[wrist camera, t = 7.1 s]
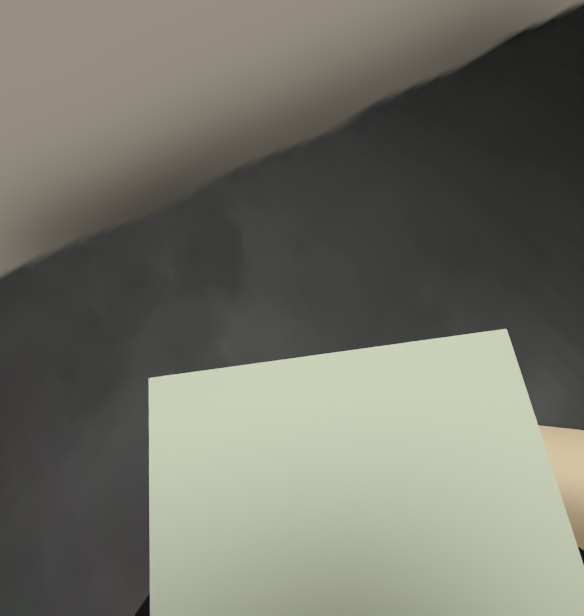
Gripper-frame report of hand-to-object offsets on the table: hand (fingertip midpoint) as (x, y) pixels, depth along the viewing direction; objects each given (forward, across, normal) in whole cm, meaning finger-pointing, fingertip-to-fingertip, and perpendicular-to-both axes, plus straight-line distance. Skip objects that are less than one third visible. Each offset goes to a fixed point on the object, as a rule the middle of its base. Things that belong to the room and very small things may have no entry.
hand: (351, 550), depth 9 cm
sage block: (+5, 0, +5) cm, 7 cm away
